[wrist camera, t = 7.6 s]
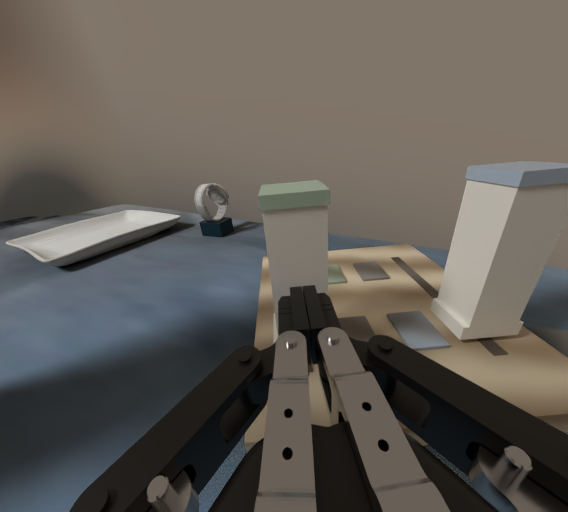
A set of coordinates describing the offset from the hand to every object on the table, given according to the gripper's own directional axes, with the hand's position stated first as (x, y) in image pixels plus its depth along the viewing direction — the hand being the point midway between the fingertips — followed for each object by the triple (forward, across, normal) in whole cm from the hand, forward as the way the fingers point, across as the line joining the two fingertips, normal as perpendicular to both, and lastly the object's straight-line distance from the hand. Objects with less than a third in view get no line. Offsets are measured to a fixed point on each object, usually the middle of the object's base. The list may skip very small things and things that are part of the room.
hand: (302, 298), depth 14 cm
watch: (+40, +16, +9) cm, 43 cm away
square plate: (+42, +44, +9) cm, 62 cm away
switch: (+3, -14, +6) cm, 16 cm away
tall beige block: (+3, 0, +6) cm, 7 cm away
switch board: (+8, -7, +8) cm, 14 cm away
